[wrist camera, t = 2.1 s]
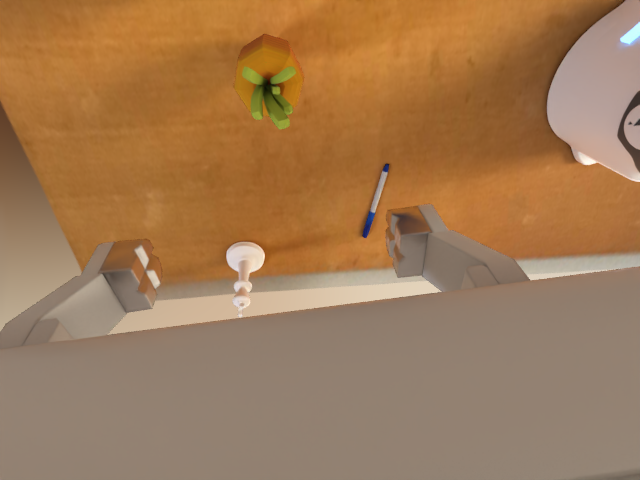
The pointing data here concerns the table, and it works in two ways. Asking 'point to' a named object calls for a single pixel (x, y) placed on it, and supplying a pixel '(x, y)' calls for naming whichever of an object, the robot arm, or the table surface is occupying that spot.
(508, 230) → the table surface
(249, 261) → the chess piece
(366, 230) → the ballpoint pen
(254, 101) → the carrot
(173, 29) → the table surface
